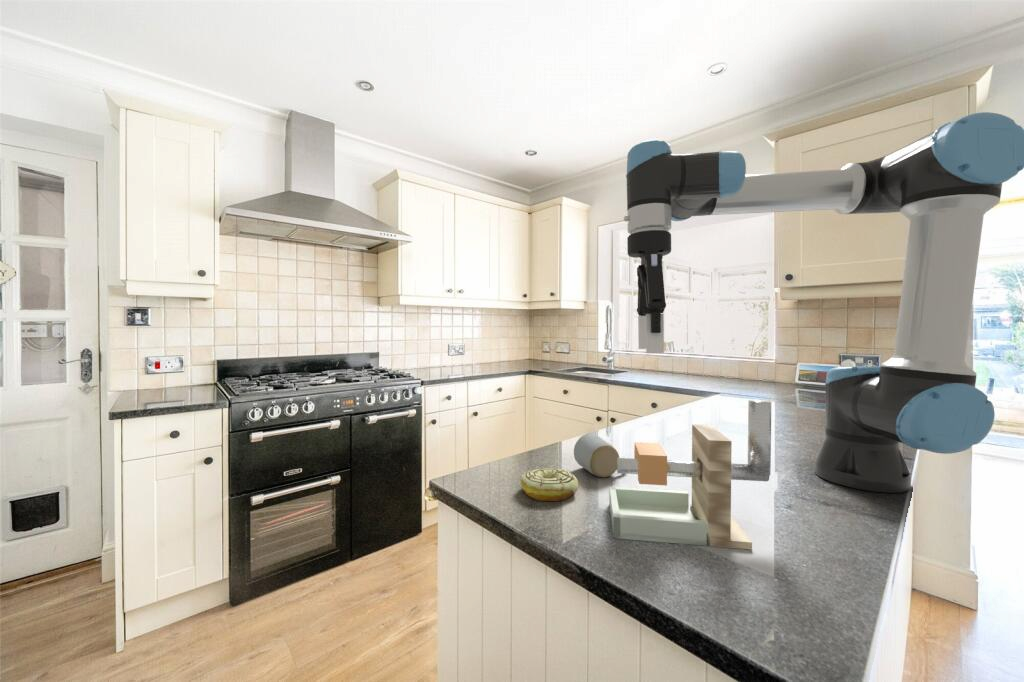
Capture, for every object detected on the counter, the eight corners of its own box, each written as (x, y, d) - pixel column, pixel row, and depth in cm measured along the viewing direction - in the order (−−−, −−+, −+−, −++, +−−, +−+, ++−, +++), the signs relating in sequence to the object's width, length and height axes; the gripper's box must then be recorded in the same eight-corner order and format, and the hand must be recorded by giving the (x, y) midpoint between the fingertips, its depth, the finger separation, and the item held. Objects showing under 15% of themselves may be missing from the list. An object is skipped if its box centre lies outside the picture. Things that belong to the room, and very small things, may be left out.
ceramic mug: (591, 481, 85) (591, 444, 85) (572, 468, 93) (573, 434, 93) (635, 476, 88) (636, 440, 88) (614, 464, 96) (614, 431, 96)
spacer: (659, 469, 70) (659, 443, 70) (666, 485, 63) (667, 456, 63) (634, 468, 71) (634, 442, 70) (639, 483, 64) (639, 454, 63)
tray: (687, 509, 72) (687, 491, 71) (706, 545, 60) (706, 523, 60) (609, 504, 74) (609, 486, 74) (613, 538, 62) (613, 516, 62)
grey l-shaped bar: (765, 477, 65) (766, 399, 65) (773, 484, 62) (774, 403, 62) (616, 469, 69) (617, 396, 69) (618, 476, 66) (618, 399, 66)
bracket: (724, 512, 70) (725, 424, 70) (751, 549, 59) (753, 443, 58) (690, 509, 71) (690, 423, 71) (710, 546, 60) (711, 442, 59)
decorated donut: (588, 498, 77) (588, 478, 77) (536, 508, 73) (536, 487, 73) (560, 479, 87) (560, 461, 87) (512, 487, 82) (512, 468, 82)
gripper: (623, 247, 88) (624, 347, 89) (632, 216, 64) (634, 355, 64) (660, 245, 87) (661, 347, 87) (685, 213, 62) (686, 355, 63)
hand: (650, 351), depth 76 cm, fingers open, 13 cm apart
